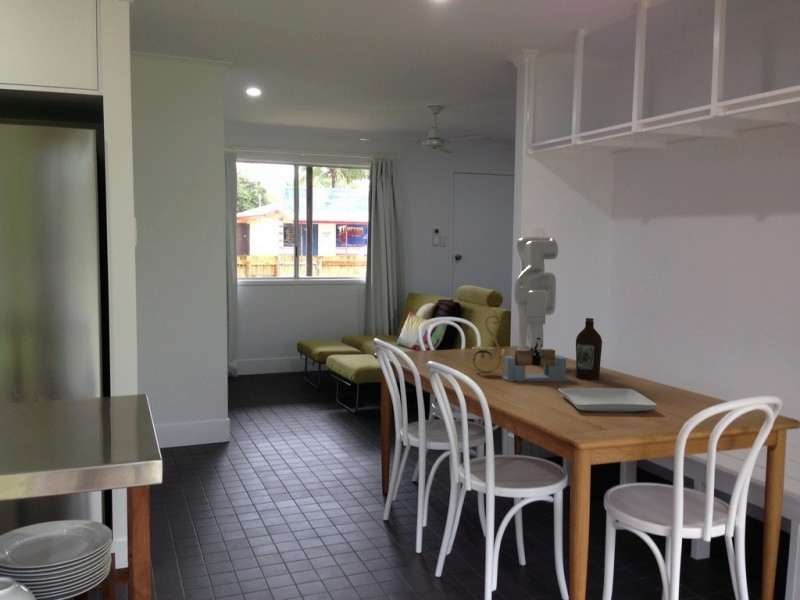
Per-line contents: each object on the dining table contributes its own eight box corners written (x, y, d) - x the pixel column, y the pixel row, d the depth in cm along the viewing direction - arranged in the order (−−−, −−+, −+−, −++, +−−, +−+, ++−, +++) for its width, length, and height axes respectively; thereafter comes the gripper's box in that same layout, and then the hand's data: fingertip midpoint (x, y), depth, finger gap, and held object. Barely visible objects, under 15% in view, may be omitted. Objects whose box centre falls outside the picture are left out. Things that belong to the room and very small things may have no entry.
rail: (514, 364, 292) (514, 349, 292) (550, 363, 295) (551, 348, 295) (518, 365, 288) (518, 351, 288) (554, 364, 291) (555, 350, 291)
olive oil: (579, 374, 303) (581, 316, 301) (604, 377, 297) (606, 318, 295) (570, 378, 294) (572, 318, 292) (596, 381, 288) (598, 320, 286)
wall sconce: (501, 370, 310) (502, 313, 308) (505, 374, 301) (506, 316, 299) (469, 370, 310) (471, 313, 308) (472, 374, 300) (474, 315, 298)
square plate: (630, 397, 260) (631, 387, 260) (657, 415, 233) (658, 404, 232) (557, 396, 260) (557, 386, 260) (575, 414, 233) (575, 403, 232)
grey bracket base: (500, 376, 297) (501, 355, 296) (561, 376, 298) (562, 355, 297) (505, 381, 287) (506, 359, 286) (568, 381, 288) (569, 359, 287)
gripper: (522, 318, 299) (521, 360, 300) (532, 322, 282) (530, 367, 283) (539, 318, 299) (538, 361, 300) (550, 322, 282) (549, 367, 284)
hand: (534, 363), depth 292 cm, fingers closed on rail, 4 cm apart
